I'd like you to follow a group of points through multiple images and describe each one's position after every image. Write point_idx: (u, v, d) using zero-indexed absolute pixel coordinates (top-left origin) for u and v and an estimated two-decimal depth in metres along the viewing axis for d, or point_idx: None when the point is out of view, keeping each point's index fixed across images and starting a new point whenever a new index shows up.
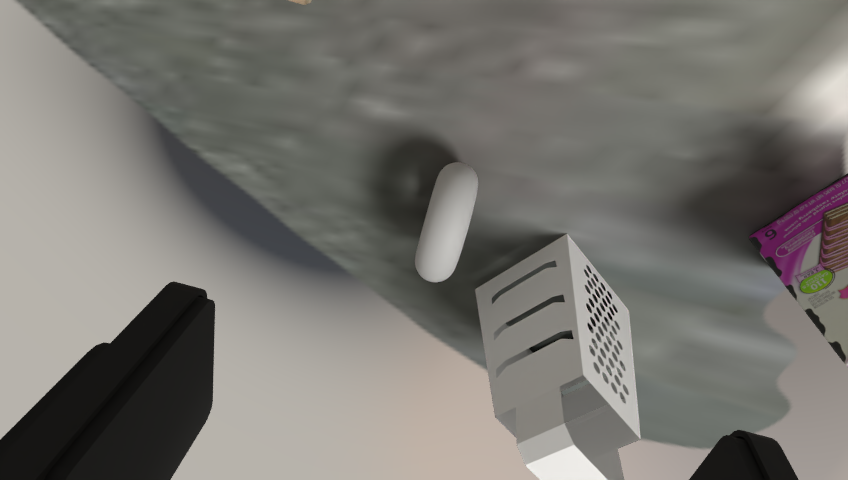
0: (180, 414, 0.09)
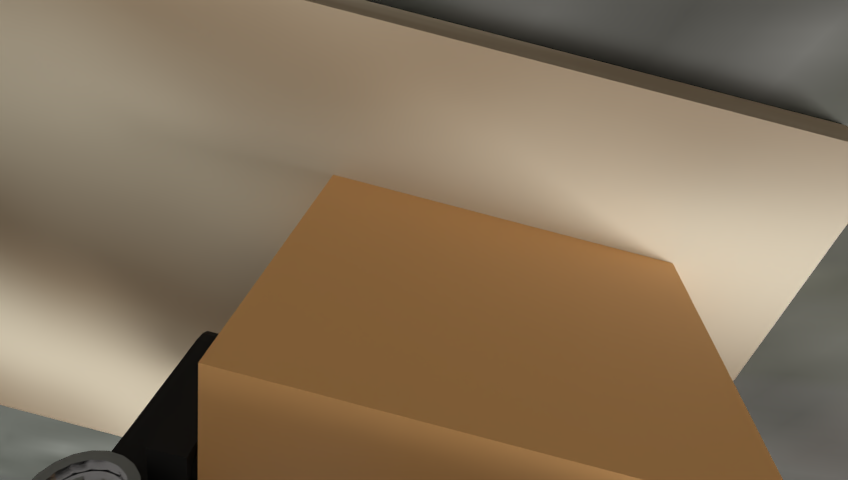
0: None
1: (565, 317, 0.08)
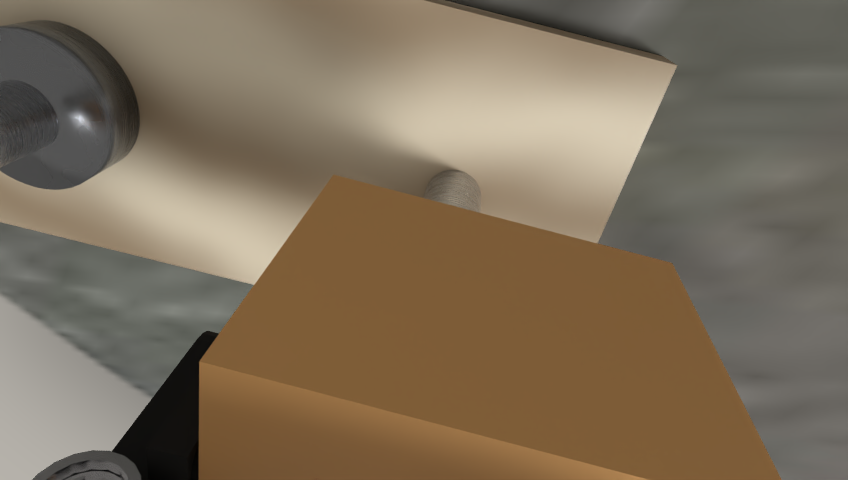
0: None
1: (564, 316, 0.08)
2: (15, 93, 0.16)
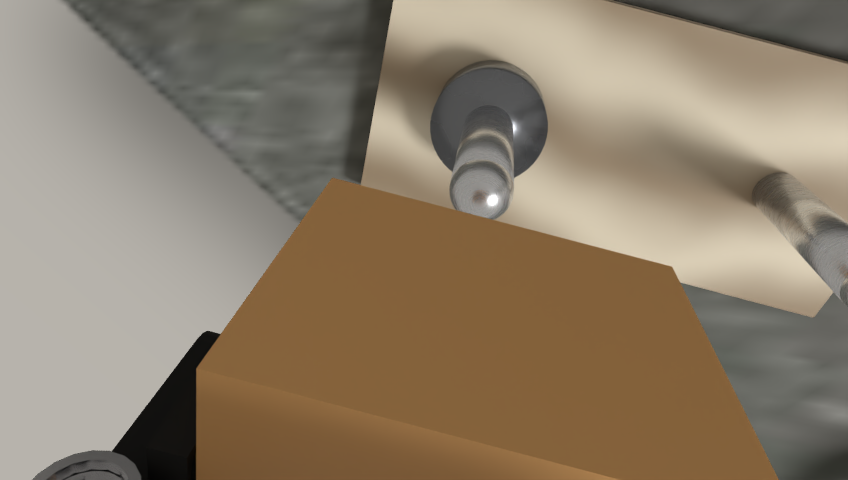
0: None
1: (564, 321, 0.08)
2: (503, 116, 0.23)
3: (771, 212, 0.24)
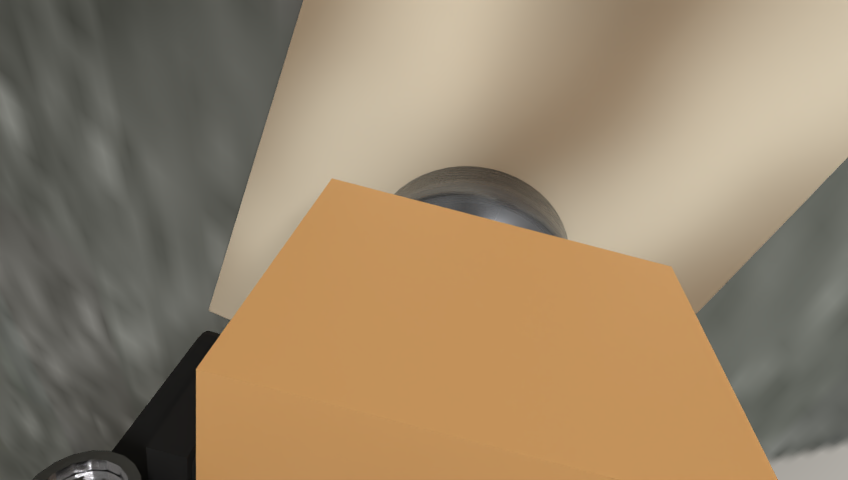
0: None
1: (563, 321, 0.08)
2: None
3: None
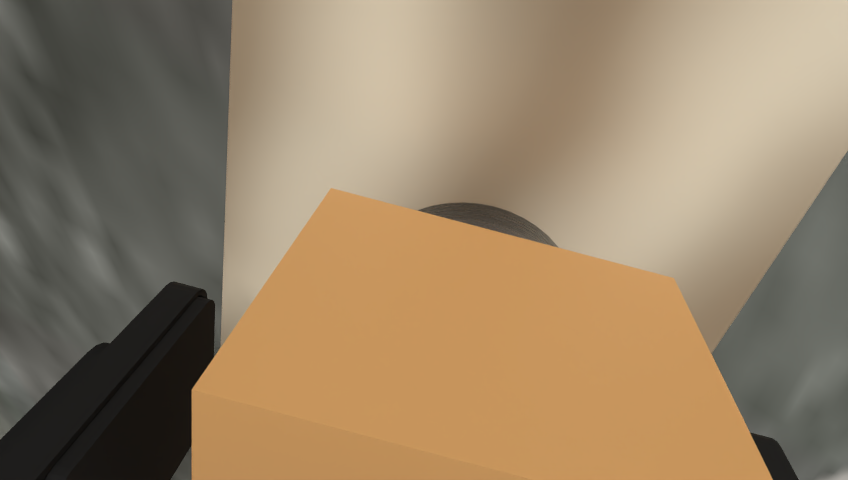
0: (180, 414, 0.09)
1: (565, 336, 0.08)
2: None
3: None
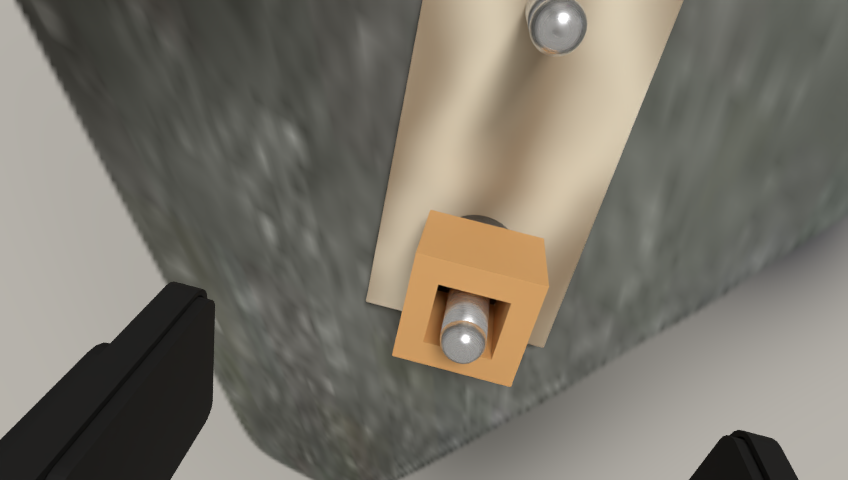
0: (180, 414, 0.09)
1: (502, 249, 0.27)
2: None
3: None
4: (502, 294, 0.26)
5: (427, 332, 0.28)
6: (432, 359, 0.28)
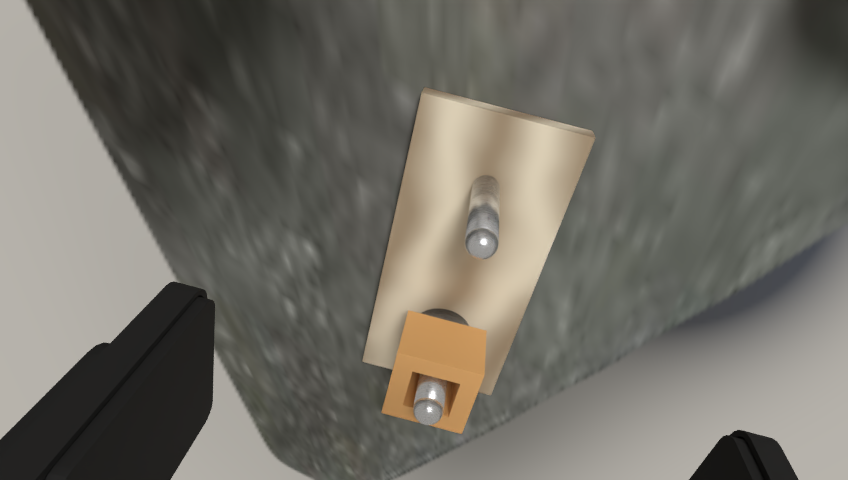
0: (180, 414, 0.09)
1: (456, 344, 0.40)
2: None
3: None
4: (454, 378, 0.39)
5: (405, 397, 0.42)
6: (408, 416, 0.41)
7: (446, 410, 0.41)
